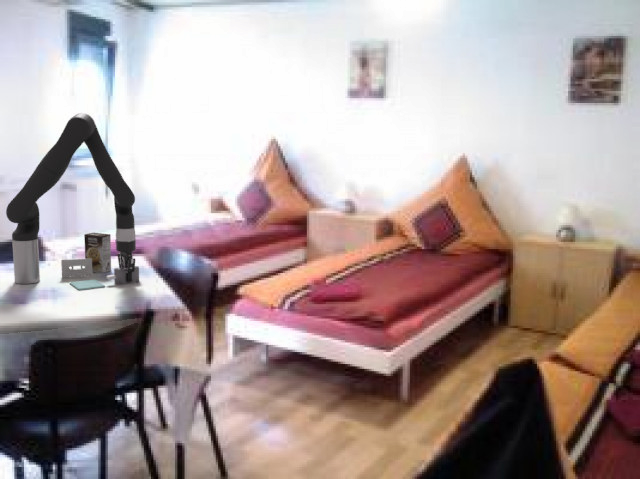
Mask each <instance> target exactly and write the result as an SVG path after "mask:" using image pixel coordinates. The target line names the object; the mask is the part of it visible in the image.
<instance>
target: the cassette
mask: <svg viewBox="0 0 640 479" xmlns="http://www.w3.org/2000/svg"><path fill="white" fill-rule="evenodd" d="M60 262H61V263H60V264H61V278H62V279H74V278H75V279H76V278H90V277H94V276H93V274H94V272H93V271H92V259H91V258H89V259H85V258H71V259H70V258H69V259H68V258H67V259H61V261H60ZM74 267H80V268H74Z"/></svg>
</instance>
